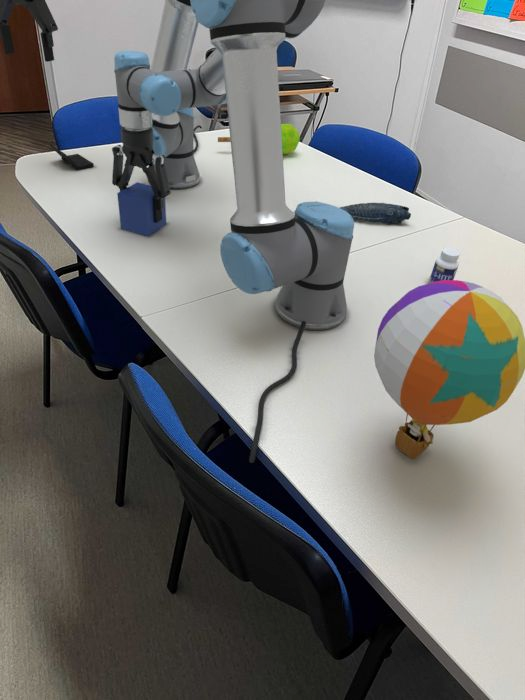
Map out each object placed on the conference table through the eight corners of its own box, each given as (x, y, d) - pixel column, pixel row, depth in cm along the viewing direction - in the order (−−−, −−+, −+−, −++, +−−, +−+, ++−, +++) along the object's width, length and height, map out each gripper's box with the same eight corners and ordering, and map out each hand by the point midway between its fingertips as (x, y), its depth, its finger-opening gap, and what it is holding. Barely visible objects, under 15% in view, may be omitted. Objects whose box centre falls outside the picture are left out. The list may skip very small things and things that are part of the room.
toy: (324, 440, 84) (359, 279, 65) (398, 390, 94) (447, 240, 76) (424, 525, 73) (502, 362, 54) (495, 458, 83) (581, 302, 65)
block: (166, 223, 140) (164, 188, 134) (148, 236, 134) (145, 200, 128) (139, 216, 143) (137, 182, 137) (120, 228, 136) (117, 193, 130)
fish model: (409, 228, 149) (414, 212, 146) (336, 220, 150) (339, 204, 147) (407, 219, 154) (411, 203, 151) (336, 211, 155) (339, 195, 152)
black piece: (98, 159, 169) (76, 137, 160) (86, 177, 167) (64, 156, 159) (77, 155, 175) (55, 133, 167) (66, 172, 174) (43, 151, 165)
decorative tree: (215, 117, 188) (295, 117, 193) (215, 147, 195) (292, 146, 200) (221, 131, 174) (307, 131, 180) (221, 163, 181) (304, 161, 186)
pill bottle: (427, 286, 124) (438, 253, 119) (429, 276, 128) (440, 244, 122) (450, 292, 123) (461, 259, 117) (451, 281, 127) (463, 249, 121)
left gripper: (63, -35, 128) (76, 61, 141) (-16, -45, 134) (4, 48, 148) (41, -35, 122) (57, 66, 135) (-39, -46, 129) (-17, 51, 142)
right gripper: (183, 131, 122) (185, 220, 136) (108, 115, 128) (117, 202, 142) (167, 139, 117) (170, 231, 131) (89, 122, 122) (100, 212, 137)
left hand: (29, 57), depth 142 cm, fingers open, 13 cm apart
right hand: (143, 216), depth 137 cm, fingers closed on block, 8 cm apart
